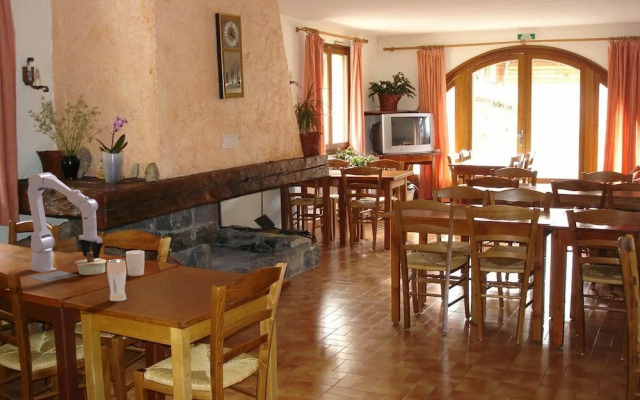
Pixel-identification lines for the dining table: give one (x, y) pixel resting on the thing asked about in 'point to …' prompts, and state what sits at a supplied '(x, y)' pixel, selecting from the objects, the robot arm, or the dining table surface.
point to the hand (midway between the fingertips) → (91, 257)
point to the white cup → (135, 262)
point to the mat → (53, 276)
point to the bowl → (91, 269)
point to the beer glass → (116, 279)
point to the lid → (90, 261)
